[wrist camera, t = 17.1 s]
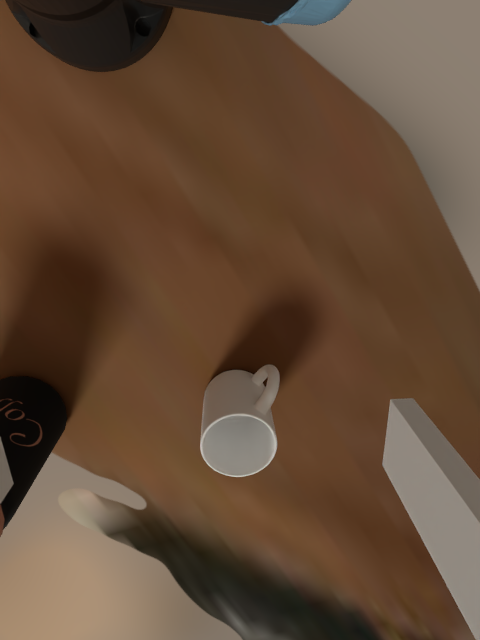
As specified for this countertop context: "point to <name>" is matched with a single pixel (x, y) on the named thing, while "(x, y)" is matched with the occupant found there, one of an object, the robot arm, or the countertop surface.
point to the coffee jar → (27, 434)
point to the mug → (239, 421)
